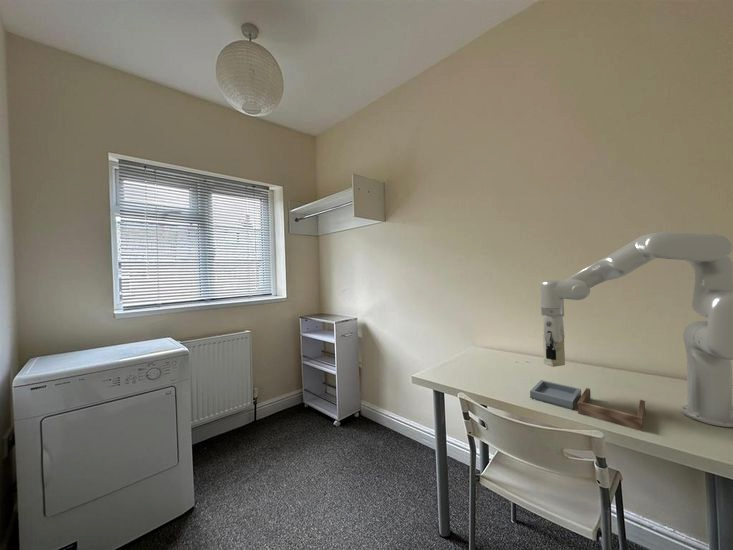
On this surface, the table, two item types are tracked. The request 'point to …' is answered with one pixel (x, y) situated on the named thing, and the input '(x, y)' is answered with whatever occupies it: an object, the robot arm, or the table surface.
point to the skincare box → (559, 353)
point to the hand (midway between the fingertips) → (554, 356)
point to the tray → (556, 394)
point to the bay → (611, 413)
